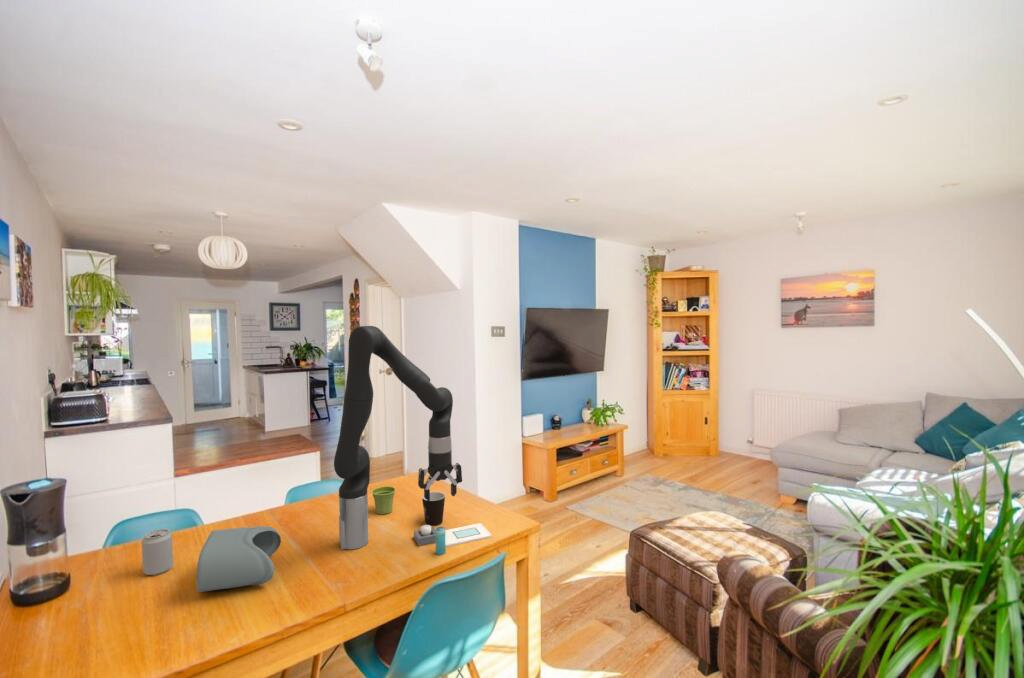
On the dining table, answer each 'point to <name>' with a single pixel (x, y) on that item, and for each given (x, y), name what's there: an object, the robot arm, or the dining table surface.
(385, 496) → the plant pot
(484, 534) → the sheet
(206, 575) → the grey scooped bin
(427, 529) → the button
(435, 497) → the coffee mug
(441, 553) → the marker
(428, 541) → the button frame
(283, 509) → the dining table surface
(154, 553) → the can
